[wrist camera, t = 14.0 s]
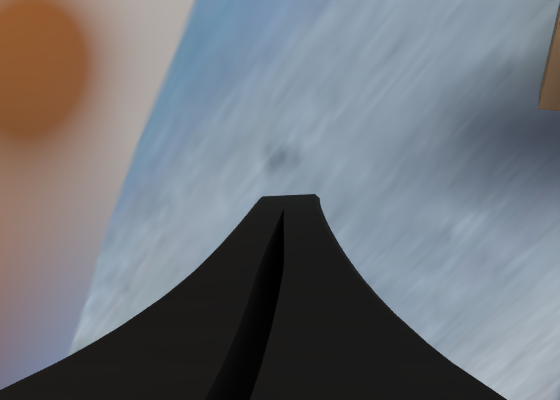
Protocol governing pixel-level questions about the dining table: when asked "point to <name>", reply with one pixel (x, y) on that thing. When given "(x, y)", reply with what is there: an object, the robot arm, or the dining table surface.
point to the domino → (552, 73)
